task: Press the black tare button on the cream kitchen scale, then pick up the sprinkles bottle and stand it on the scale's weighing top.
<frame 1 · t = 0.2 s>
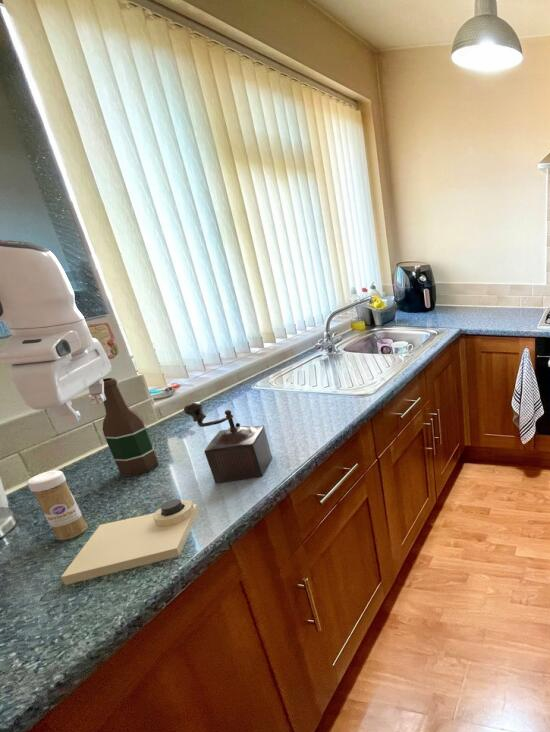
hand: (87, 412, 74), 25 cm above the countertop, tool pointing down, fingers open, 8 cm apart
tare button: (172, 507, 81), point 4 cm above the countertop, slide at 0.1 cm
beer bottle: (141, 469, 102), on the countertop
sprinkles bottle: (73, 534, 80), on the countertop
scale: (140, 543, 77), on the countertop
manual coffee grinder: (234, 471, 101), on the countertop
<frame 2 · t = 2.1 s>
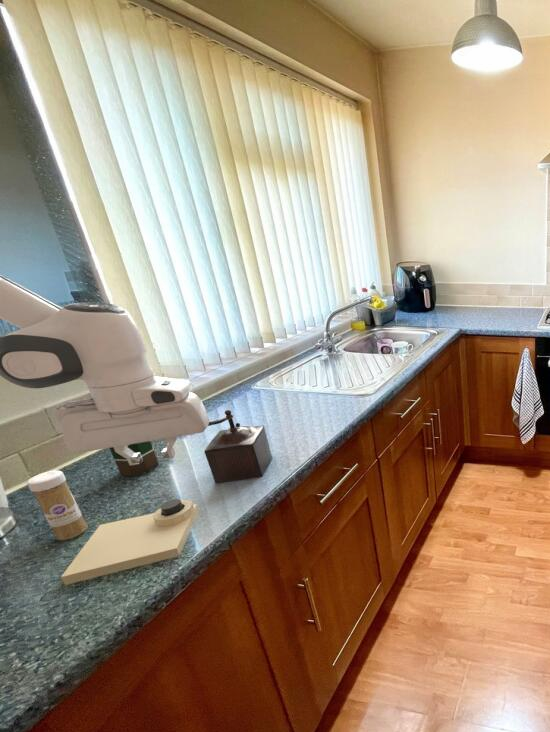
hand: (153, 460, 77), 15 cm above the countertop, tool pointing down, fingers open, 4 cm apart
nothing on the countertop moved.
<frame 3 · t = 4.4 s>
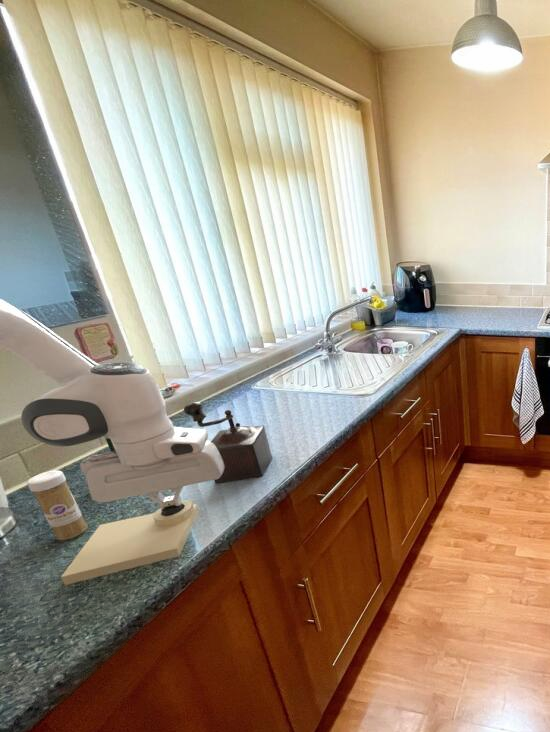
hand: (172, 505, 81), 4 cm above the countertop, tool pointing down, fingers closed, pressing on tare button
tare button: (172, 509, 81), point 4 cm above the countertop, slide at -0.4 cm, touching gripper
everything else where it was.
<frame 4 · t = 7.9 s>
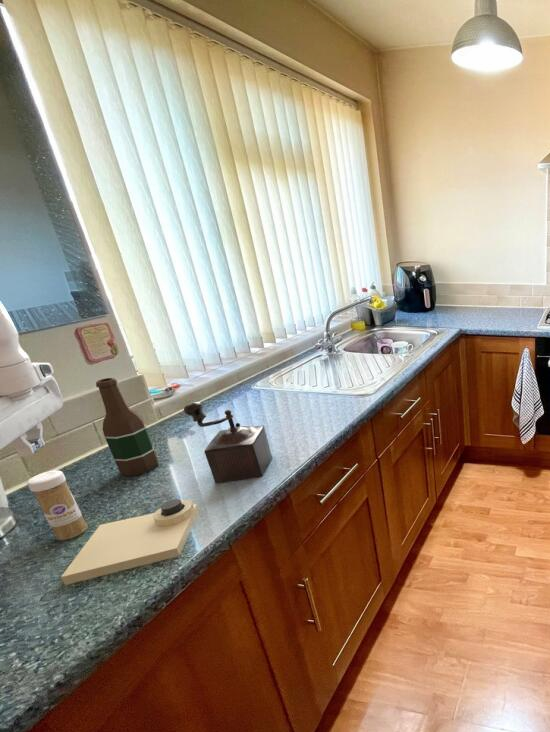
hand: (33, 451, 73), 19 cm above the countertop, tool pointing down, fingers closed
tare button: (172, 507, 81), point 4 cm above the countertop, slide at 0.1 cm
everything else where it was.
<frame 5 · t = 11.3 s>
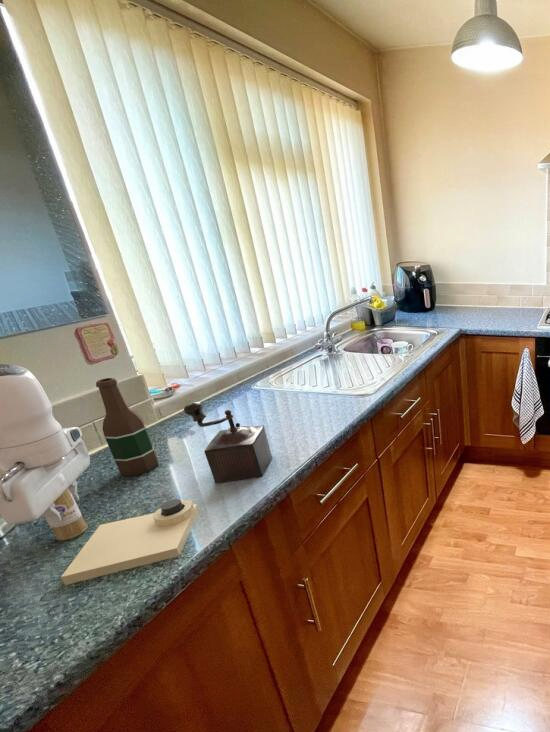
hand: (65, 511, 78), 5 cm above the countertop, tool pointing down, fingers closed on sprinkles bottle, 4 cm apart
sprinkles bottle: (73, 533, 80), on the countertop, touching gripper
everything else where it was.
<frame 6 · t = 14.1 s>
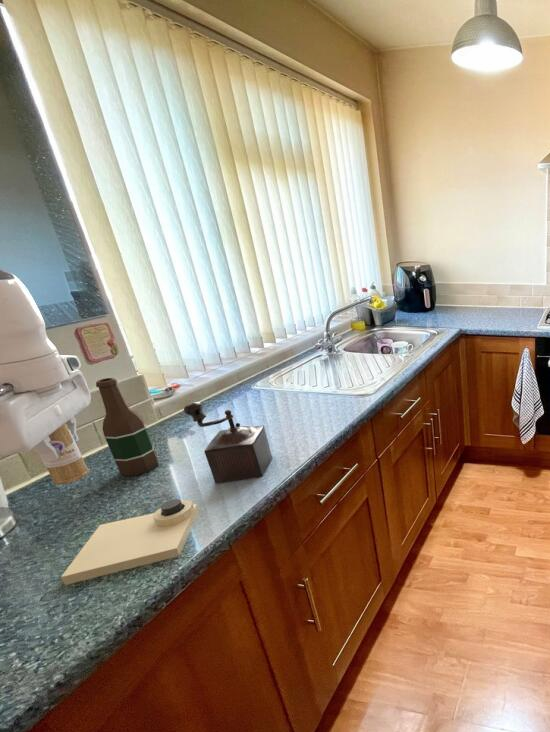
hand: (62, 451, 68), 22 cm above the countertop, tool pointing down, fingers closed on sprinkles bottle, 4 cm apart
sprinkles bottle: (73, 478, 70), point 16 cm above the countertop, touching gripper
everything else where it was.
when the fingers open (7 cm above the countertop, at t = 17.3 s): sprinkles bottle stays where it is, resting on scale.
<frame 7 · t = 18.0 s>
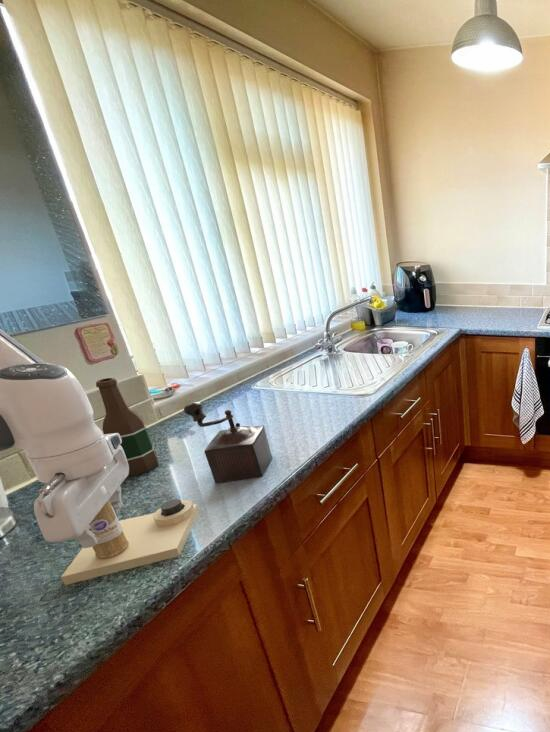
hand: (105, 526, 71), 7 cm above the countertop, tool pointing down, fingers open, 8 cm apart
sprinkles bottle: (114, 551, 73), point 2 cm above the countertop, touching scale
everything else where it was.
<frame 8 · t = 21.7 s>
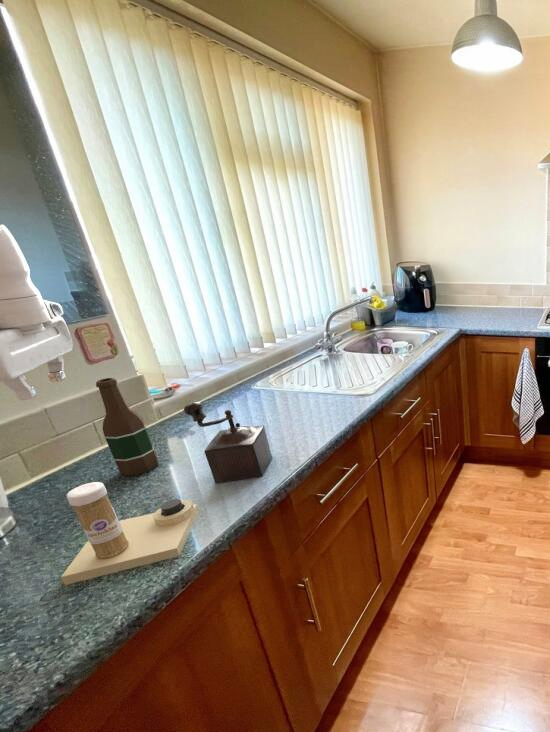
hand: (44, 389, 74), 29 cm above the countertop, tool pointing down, fingers open, 8 cm apart
nothing on the countertop moved.
at the end: tare button pushed in 0.8 cm at the most during the clip, back to where it started at the end; sprinkles bottle inside the target area on the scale (3.8 cm from its centre), point 1.7 cm above the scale's base; sprinkles bottle touching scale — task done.
